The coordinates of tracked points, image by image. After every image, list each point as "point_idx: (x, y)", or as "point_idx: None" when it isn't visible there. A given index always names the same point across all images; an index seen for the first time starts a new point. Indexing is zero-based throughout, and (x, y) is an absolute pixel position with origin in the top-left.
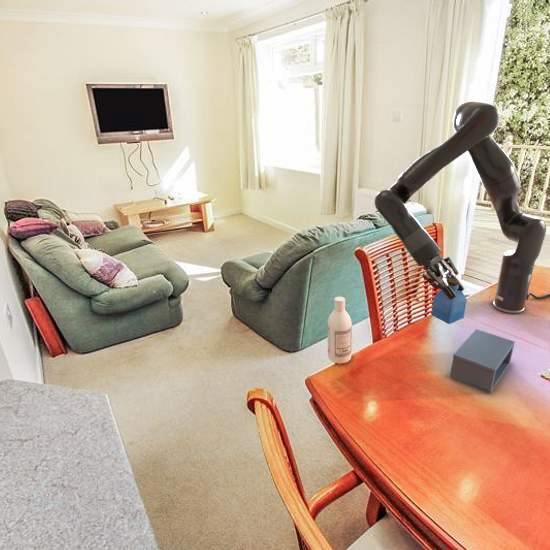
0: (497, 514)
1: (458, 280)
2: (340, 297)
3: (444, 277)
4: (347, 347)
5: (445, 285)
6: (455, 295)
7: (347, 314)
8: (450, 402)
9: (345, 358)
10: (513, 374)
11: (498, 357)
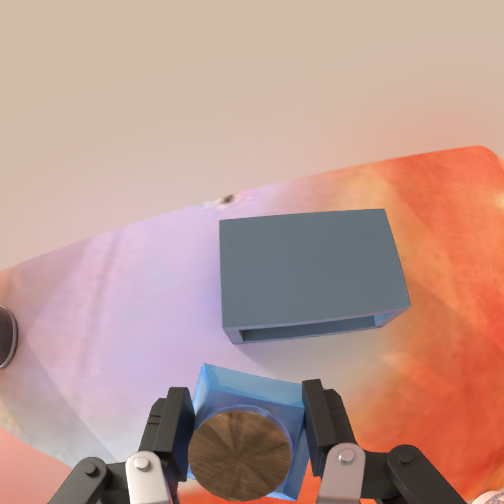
0: (500, 174)
1: (211, 419)
2: None
3: (338, 501)
4: None
5: (361, 452)
6: (318, 381)
7: None
8: (441, 283)
9: (498, 492)
10: None
11: (331, 219)
